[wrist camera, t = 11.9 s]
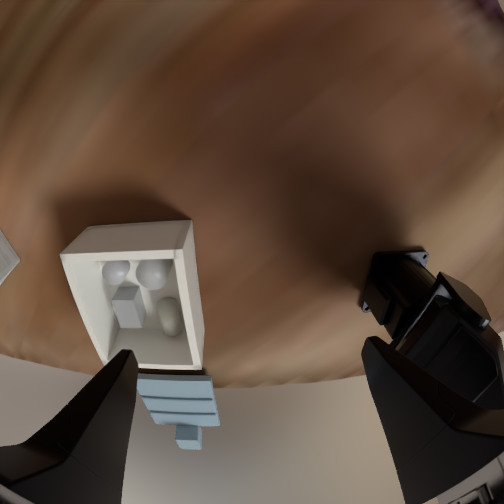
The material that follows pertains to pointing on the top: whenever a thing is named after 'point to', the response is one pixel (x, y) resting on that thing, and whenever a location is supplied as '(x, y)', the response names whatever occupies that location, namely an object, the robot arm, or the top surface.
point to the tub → (139, 291)
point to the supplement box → (6, 258)
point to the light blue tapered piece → (180, 404)
